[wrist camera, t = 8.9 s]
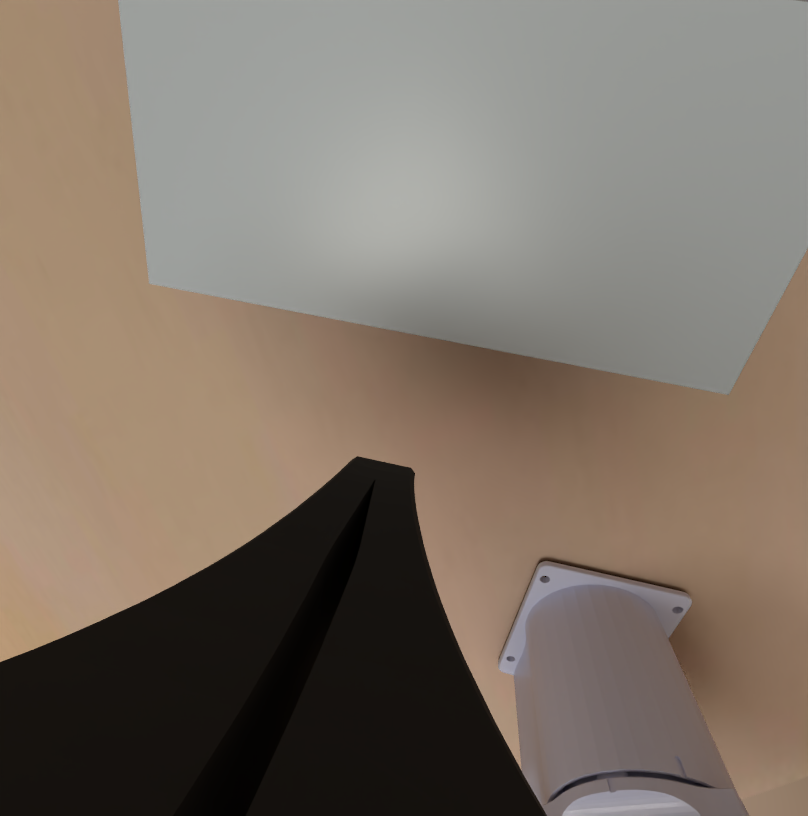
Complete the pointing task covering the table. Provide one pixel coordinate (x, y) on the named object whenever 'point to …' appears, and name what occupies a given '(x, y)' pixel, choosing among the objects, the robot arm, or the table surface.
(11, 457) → the table surface
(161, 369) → the table surface
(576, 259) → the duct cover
